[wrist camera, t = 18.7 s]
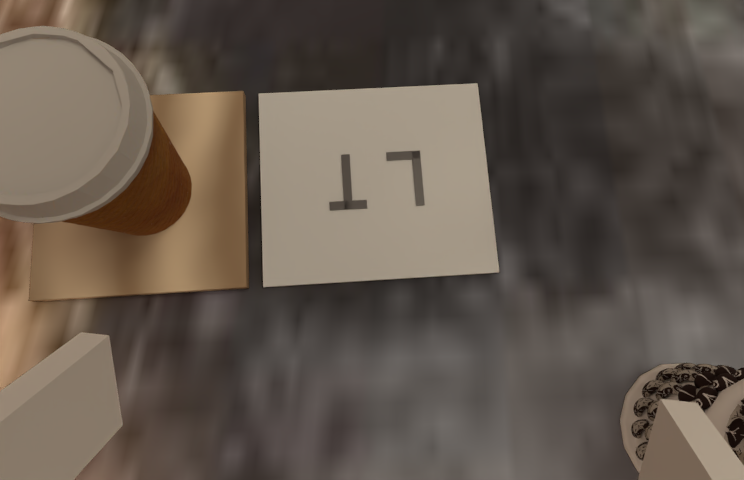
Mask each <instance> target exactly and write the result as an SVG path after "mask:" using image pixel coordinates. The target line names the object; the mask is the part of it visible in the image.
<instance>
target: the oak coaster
mask: <svg viewBox="0 0 744 480" xmlns="http://www.w3.org/2000/svg"><path fill="white" fill-rule="evenodd" d="M150 99H151V103H152V107H153V111H154V113H155V115H156V116H157V118H158V120H159V121H160V123H161V125H162V127H163V128H164V130H165V132H166V133H167V135H168V137H169V138H170V140H171V142H172V144H173V146H174V147H175V149H176V151H177V152H178V154H179V156H180V158H181V159H182V161H183V163H184V164H185V166H186V167H187V169H188V172H189V174H190V177H191V183H192V191H191V198H190V202H189V204H188V206H187V208H186V210H185V212H184V213H183V215H182V216H181V217H180V218H179V219H178V220H177V221H176V222H175V223H174V224H173V225H171V226H170V227H169V228H167V229H166V230H164V231H161V232H159V233H156V234H152V235H147V236H136V235H131V234H127V233H121V232H116V231H110V230H105V229H98V228H94V227H89V226H83V225H77V224H73V223H66V222H54V223H42V224H36V223H34V226H33V242H32V257H31V272H30V288H29V301H36V302H37V301H53V300H69V299H85V298H101V297H117V296H133V295H149V294H166V293H182V292H198V291H214V290H230V289H246V288H249V256H248V202H247V149H246V96H245V94H244V92H243V91H231V92H210V93H188V94H167V95H150Z"/></svg>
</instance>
